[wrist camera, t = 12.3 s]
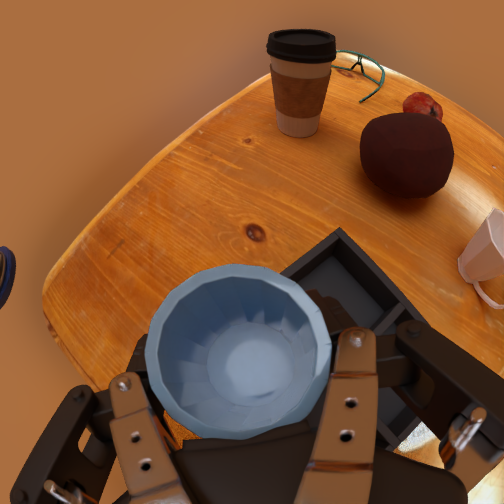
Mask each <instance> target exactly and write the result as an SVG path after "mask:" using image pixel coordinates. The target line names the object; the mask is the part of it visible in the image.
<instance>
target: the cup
mask: <svg viewBox="0 0 504 504" xmlns="http://www.w3.org/2000/svg"><path fill="white" fill-rule="evenodd" d="M457 261H458V272H459V273H460V275H461V276H462V277H463V279H464V280H465V282H466V283H471V284H473V285H474V288H475V290H476V291H477V293H478V294H479V296H480V297H481V298H482V299H483V300H484V301H485V302H486V303H487V304H488V305H490V306H491V307H493V308H495V309H503V308H504V305H498V304H497V303H495V302H494V301H493V300H491V299H490V298H489V297H488V296H487V295H486V294H485V293H484V292H483V290H482V289H481V288H480V286H479V283H478V281H485V280H490V279H493V278H496V277H498V276H500V275H503V274H504V212H503V211H500V210H498V209H496V208H493V209H492V210H491V212H490V213H489V215H488V216H487V218H486V219H485V220H484V222H483V223H482V225H481V226H480V228H479V229H478V231H477V232H476V234H475V235H474V236H473V238H472V239H471V240H470V242H469V243H468V244H467V246H466V248H465V250H464V251H463V253H462V254H461V255H460V256H459V258H458V259H457Z"/></svg>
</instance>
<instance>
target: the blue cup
mask: <svg viewBox="0 0 504 504" xmlns="http://www.w3.org/2000/svg"><path fill="white" fill-rule="evenodd" d="M331 353H332V342H331V339H330V336H329V333H328V330H327V327H326V324H325V321H324V318H323V315H322V312H321V310H320V308H319V307H318V306H317V305H316V304H315V302H314V301H313V300H312V299H311V298H310V297H309V296H308V295H307V293H306V292H305V291H304V290H303V289H302V288H301V287H300V285H299V284H296V282H294V281H292V280H290V279H288V278H287V277H285V276H283V275H281V274H279V273H277V272H275V271H273V270H271V269H269V268H265V267H261V266H251V265H242V264H227V265H223V266H219V267H215V268H211V269H208V270H204V271H200V272H199V273H196V274H194V275H193V276H191V277H190V278H189V279H187V280H186V281H184V282H183V283H181V284H180V285H179V286H177V287H176V288H174V289H173V290H172V291H171V292H170V293H169V294H168V295H167V297H166V298H165V300H164V301H163V303H162V304H161V306H160V307H159V309H158V310H157V312H156V313H155V315H154V316H153V318H152V320H151V323H150V327H149V332H148V337H147V341H146V346H145V360H146V366H147V372H148V377H149V382H150V386H151V389H152V390H153V392H154V393H155V395H156V396H157V398H158V400H159V401H160V403H161V404H162V406H163V407H164V409H165V410H166V412H167V413H168V415H169V416H170V417H171V418H172V419H174V420H175V421H176V422H178V423H179V424H181V425H182V426H184V427H185V428H187V429H188V430H190V431H191V432H193V433H194V434H196V435H197V436H199V437H202V438H222V439H235V440H245V439H249V438H251V437H254V436H256V435H259V434H261V433H264V432H266V431H269V430H271V429H273V428H276V427H279V426H284V425H288V424H292V423H296V422H300V421H301V420H303V419H304V418H305V417H307V416H308V415H309V413H311V411H312V410H313V408H314V406H315V405H316V403H317V401H318V399H319V398H320V396H321V394H322V392H323V391H324V389H325V387H326V385H327V383H328V380H329V374H330V364H331Z"/></svg>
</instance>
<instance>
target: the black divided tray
mask: <svg viewBox="0 0 504 504" xmlns="http://www.w3.org/2000/svg"><path fill="white" fill-rule="evenodd" d="M279 274H281V275H283V276H285V277H287V278H288V279H290V280H292V281H294V282H296V284H299V285H300V287H301V288H302V289H303V290H304V291H307V290H311V289H316V290H317V291H318V292H319V294H320V295H321V296H322V297H326V296H330V297H332V298H335V299H337V300H338V301H339V303H340V304H341V305H342V307H343V308H344V309H345V310H346V312H348V314H349V315H350V316H351V317H352V319H353V320H354V321H355V322H356V324H357V325H358V326H359V327H366V328H368V329H370V330H372V331H373V332H374V333H375V335H376V336H381V335H390V334H396V329H397V327H398V325H399V324H401V323H402V322H404V321H408V320H419V321H422V322H424V323H426V324H428V322H427V321H426V320H425V319H424V318H423V316H422V315H421V314H420V313H419V312H418V310H417V309H416V308H415V307H414V306H413V304H412V303H411V302H410V301H409V300H408V299H407V298H406V296H405V295H404V294H403V293H402V292H401V291H400V290H399V288H398V287H397V286H396V285H395V284H394V283H393V282H392V281H391V280H390V279H389V277H388V276H387V275H386V274H385V273H384V272H383V271H382V270H381V269H380V268H379V267H378V266H377V265H376V263H375V262H374V261H373V260H372V259H371V258H370V257H369V256H368V255H367V254H366V253H365V252H364V251H363V250H362V249H361V248H360V247H359V246H358V245H357V244H356V243H355V242H354V241H353V240H352V239H351V238H350V237H349V236H348V235H347V234H346V233H345V232H344V231H343V230H342V229H341V228H340V227H339V228H338V229H336V230H335V231H334V232H333V233H331V234H330V235H329V236H327V237H326V238H325V239H324V240H322V241H321V242H320V243H319V244H317V245H316V246H315V247H313V248H312V249H311V250H310V251H308V252H307V253H306V254H304V255H303V256H302V257H300V258H299V259H298V260H297V261H295V262H294V263H293V264H291V265H290V266H289V267H287V268H286V269H285V270H283V271H282V272H281V273H279ZM428 325H429V324H428ZM429 326H430V325H429ZM426 374H427V373H426ZM427 375H428V374H427ZM328 382H329V380H328ZM327 387H328V383H327V385H326V387H325V389H324V391H323V392H322V394H321V396H320V398H319V399H318V401H317V403H316V405H315V406H314V408H313V410H312V411H311V413H309V415H308V416H307V417H305V418H304V419H303V420H301V421H304V420H308V423H309V426H310V427H319V423H320V419H321V415H322V411H323V406H324V402H325V397H326V392H327ZM420 422H421V420H420V418H419V417H418V416H417V415H416V414H415V413H414V412H413V411H412V410H411V409H410V408H409V407H408V406H407V405H406V404H405V403H404V401H403V400H402V399H401V398H400V397H399V396H398V395H397V394H396V393H395V392H394V391H393V390H392V389H391V388H390V387H386V388H378V408H377V425H376V438H375V445H376V446H378V447H381V448H383V449H386V450H388V451H391V452H393V451H394V449H396V448H397V447H398V446H399V445H400V444H401V442H403V441H404V440H405V439H406V438H407V437H408V436H409V435H410V433H411V432H412V431H413V430H414V429H415V428H416V427H417V426H418V425H419V424H420Z"/></svg>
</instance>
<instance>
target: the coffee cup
mask: <svg viewBox="0 0 504 504" xmlns="http://www.w3.org/2000/svg"><path fill="white" fill-rule="evenodd" d="M266 47H267V53H268V54H269V55H270V57H271V64H270V70H271V77H272V84H273V92H274V100H275V106H276V116H277V125H278V128H279V130H280V131H281V132H283V133H284V134H286V135H288V136H292V137H298V138H302V137H308V136H311V135H313V134H314V133H315V132H316V131H317V128H318V123H319V119H320V114H321V111H322V108H323V104H324V100H325V96H326V92H327V88H328V84H329V80H330V75H331V63H332V61H333V60H335V59H336V53H337V51H336V43H335V36H334V35H332V34H330V33H328V32H324V31H321V30H313V29H289V30H280V31H275V32H273V33H270V34H269V38H268V43H267V45H266Z"/></svg>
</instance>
